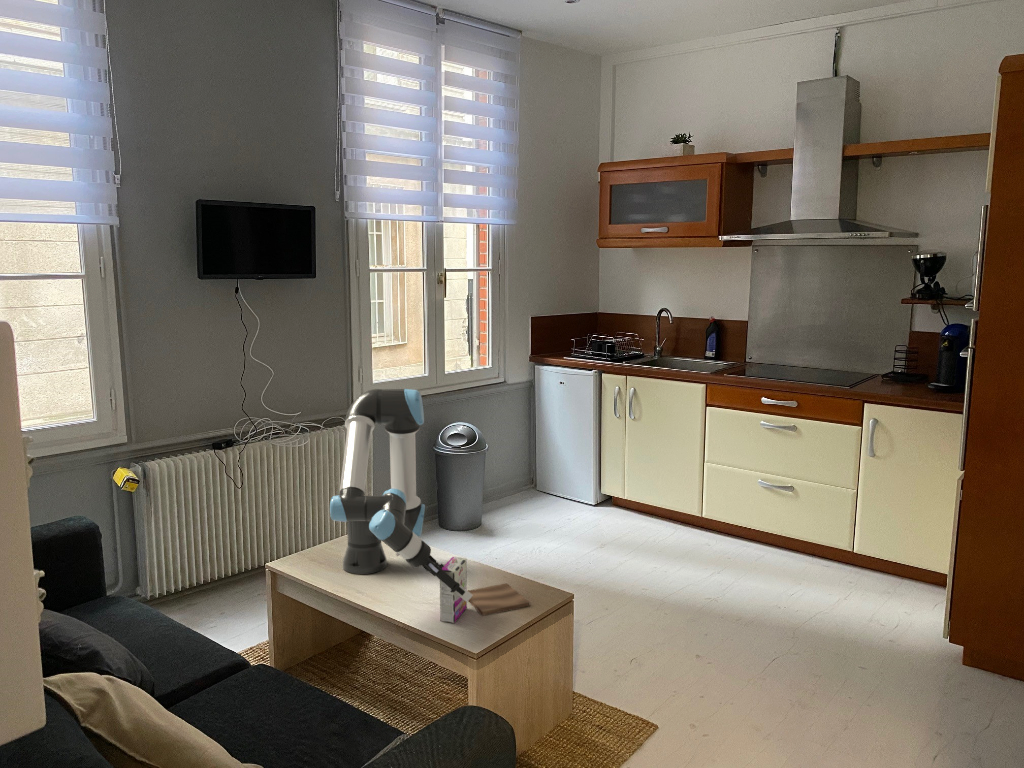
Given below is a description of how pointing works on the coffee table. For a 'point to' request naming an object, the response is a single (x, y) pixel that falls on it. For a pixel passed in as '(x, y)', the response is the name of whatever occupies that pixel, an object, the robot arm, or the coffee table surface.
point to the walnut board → (496, 599)
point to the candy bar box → (450, 601)
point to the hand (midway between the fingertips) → (461, 590)
